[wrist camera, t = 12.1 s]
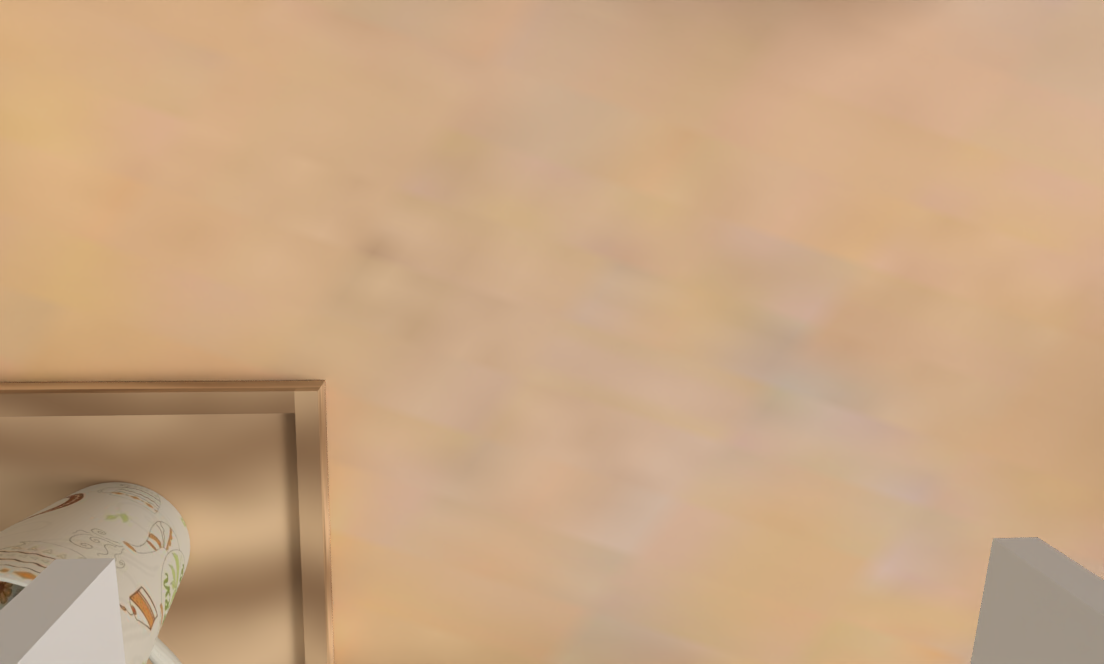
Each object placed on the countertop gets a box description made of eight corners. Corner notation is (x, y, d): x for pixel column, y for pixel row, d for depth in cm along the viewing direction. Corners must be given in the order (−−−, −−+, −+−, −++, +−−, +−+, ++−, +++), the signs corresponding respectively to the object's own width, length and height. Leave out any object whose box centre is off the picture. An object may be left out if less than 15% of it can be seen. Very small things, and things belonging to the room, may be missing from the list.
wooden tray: (-110, 383, 31) (-144, 394, 29) (324, 380, 33) (317, 391, 32) (-55, 749, 34) (-82, 779, 33) (336, 722, 37) (330, 748, 35)
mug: (141, 420, 31) (2, 524, 22) (309, 632, 34) (253, 806, 25) (-24, 520, 31) (-238, 670, 22) (159, 724, 34) (43, 936, 25)
